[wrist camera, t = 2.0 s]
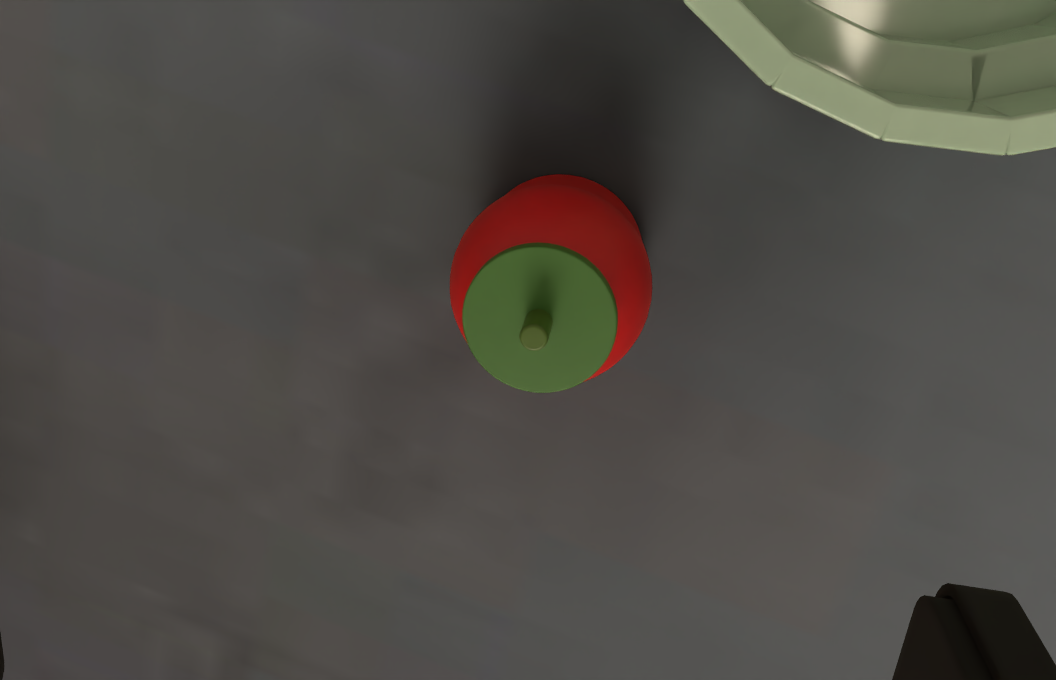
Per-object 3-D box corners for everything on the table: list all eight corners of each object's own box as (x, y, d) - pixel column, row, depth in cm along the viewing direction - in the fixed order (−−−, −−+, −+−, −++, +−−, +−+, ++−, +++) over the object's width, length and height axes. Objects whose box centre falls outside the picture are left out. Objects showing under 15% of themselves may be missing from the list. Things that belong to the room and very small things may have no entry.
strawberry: (665, 177, 20) (668, 241, 15) (638, 351, 22) (633, 457, 17) (478, 153, 20) (425, 209, 16) (464, 326, 22) (412, 425, 17)
